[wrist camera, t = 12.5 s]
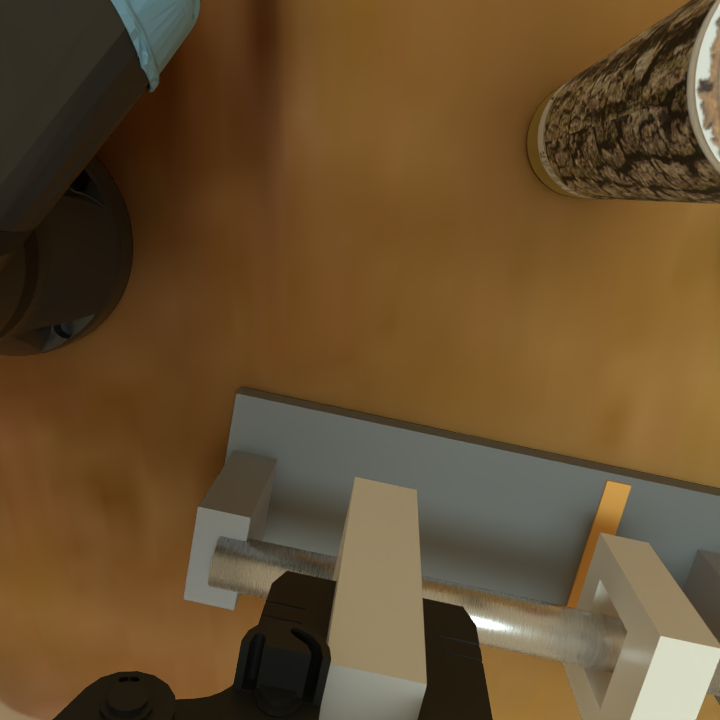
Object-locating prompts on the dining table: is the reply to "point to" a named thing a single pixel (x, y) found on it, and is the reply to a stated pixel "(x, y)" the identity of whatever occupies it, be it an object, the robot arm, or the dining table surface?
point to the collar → (643, 639)
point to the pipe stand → (448, 503)
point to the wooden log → (639, 117)
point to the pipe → (485, 607)
